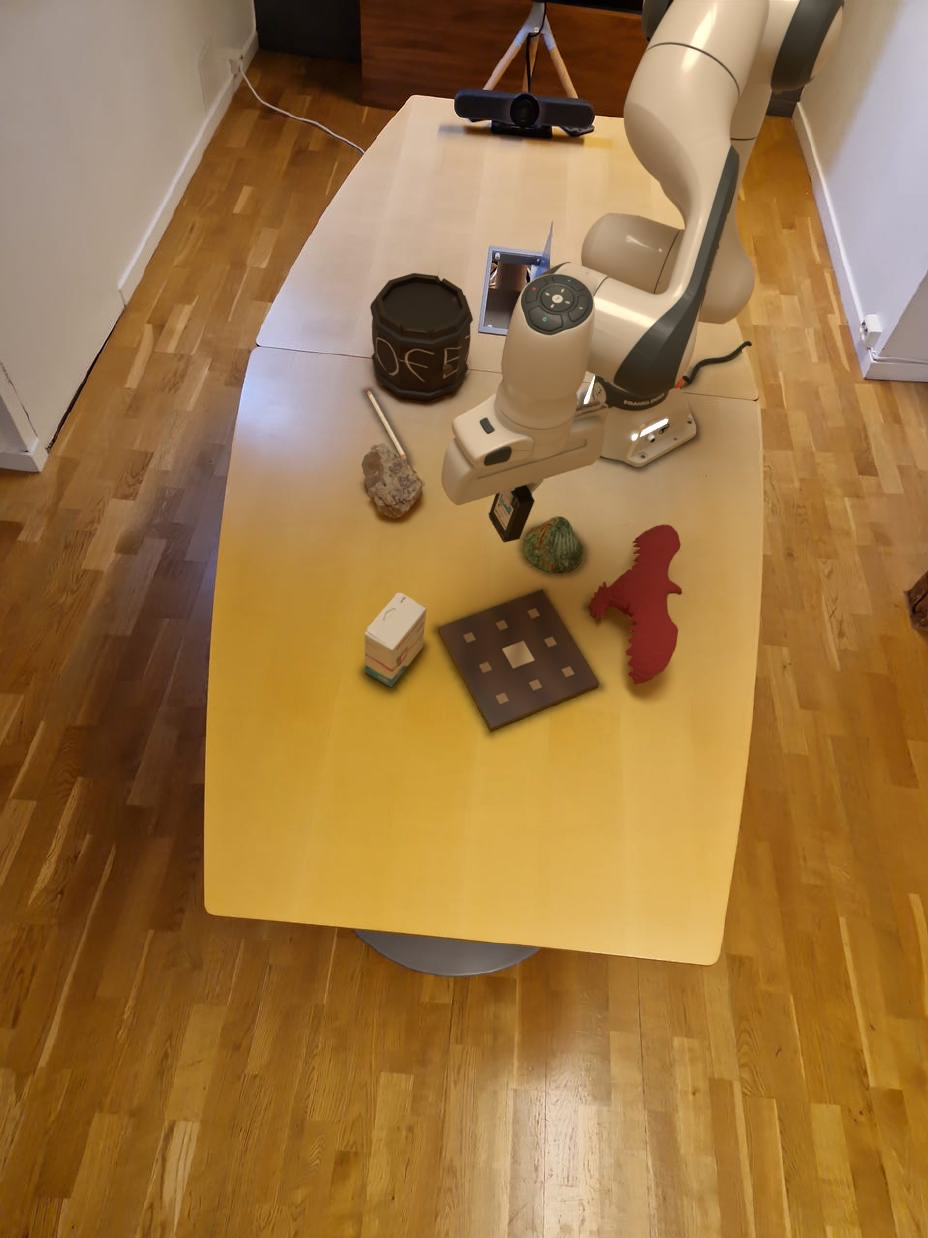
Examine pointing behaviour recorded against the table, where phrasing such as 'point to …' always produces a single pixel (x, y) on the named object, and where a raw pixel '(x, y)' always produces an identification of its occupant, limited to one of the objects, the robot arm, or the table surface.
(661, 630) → the decorative bird sculpture
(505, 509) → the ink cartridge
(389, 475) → the rock
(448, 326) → the wooden barrel
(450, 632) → the board
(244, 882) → the table surface
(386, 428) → the pencil
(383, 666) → the ink box
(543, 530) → the seashell
